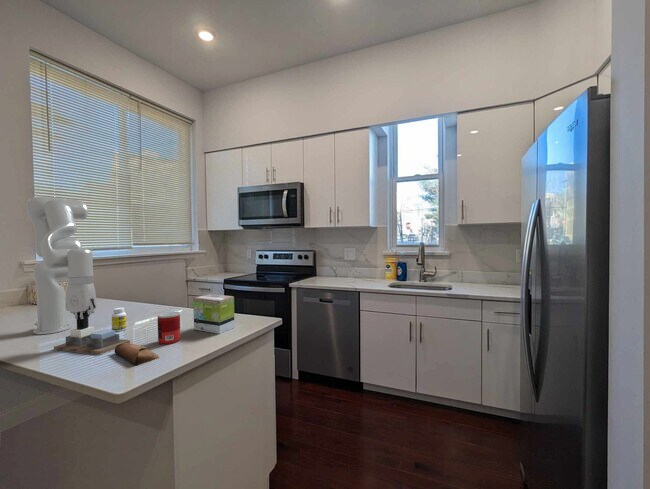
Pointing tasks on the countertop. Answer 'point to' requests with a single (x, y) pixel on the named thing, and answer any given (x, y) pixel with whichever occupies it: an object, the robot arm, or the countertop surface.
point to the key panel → (90, 344)
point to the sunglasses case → (135, 353)
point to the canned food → (168, 328)
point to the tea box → (213, 313)
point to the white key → (81, 332)
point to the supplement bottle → (119, 319)
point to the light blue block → (102, 334)
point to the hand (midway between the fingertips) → (82, 328)
